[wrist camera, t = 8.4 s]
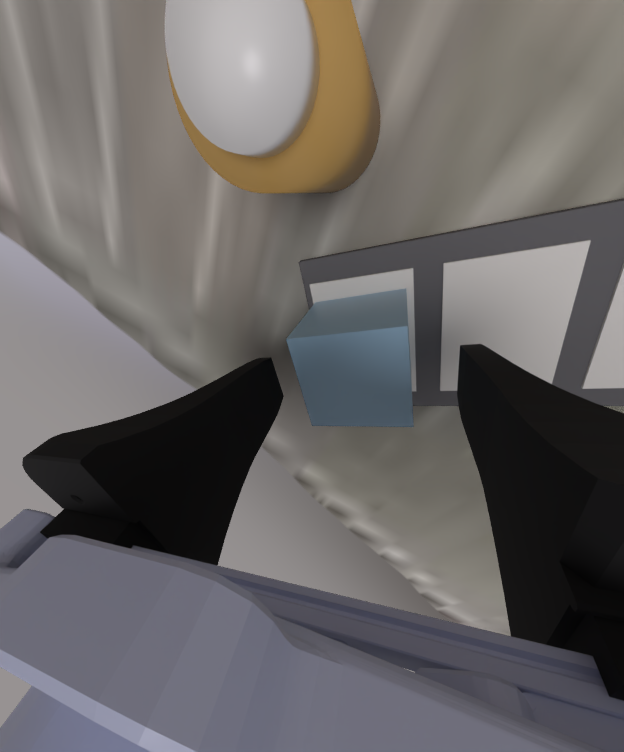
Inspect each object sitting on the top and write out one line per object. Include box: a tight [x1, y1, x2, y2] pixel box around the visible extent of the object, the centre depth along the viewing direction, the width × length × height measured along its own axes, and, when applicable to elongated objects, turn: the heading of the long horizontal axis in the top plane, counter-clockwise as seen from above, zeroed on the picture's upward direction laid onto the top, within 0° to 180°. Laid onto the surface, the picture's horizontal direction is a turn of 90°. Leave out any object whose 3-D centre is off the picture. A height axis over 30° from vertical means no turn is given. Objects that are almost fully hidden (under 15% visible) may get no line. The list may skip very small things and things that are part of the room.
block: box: [286, 288, 414, 427], centre depth 11 cm, size 4×4×4 cm
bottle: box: [165, 0, 380, 193], centre depth 7 cm, size 4×4×7 cm
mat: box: [299, 199, 624, 406], centre depth 11 cm, size 8×16×1 cm, turn 102°
